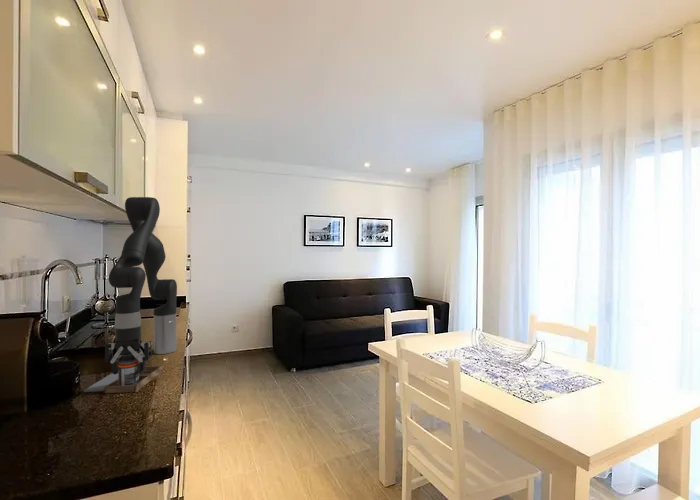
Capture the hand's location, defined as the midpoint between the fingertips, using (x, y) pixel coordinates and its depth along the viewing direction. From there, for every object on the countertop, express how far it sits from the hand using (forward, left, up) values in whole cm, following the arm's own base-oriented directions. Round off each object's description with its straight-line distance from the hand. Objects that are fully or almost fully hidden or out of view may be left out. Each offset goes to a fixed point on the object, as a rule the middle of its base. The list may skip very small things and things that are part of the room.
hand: (128, 372), depth 119 cm
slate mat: (-5, -9, -5) cm, 12 cm away
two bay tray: (-5, 0, -5) cm, 7 cm away
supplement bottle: (0, 0, -5) cm, 5 cm away
